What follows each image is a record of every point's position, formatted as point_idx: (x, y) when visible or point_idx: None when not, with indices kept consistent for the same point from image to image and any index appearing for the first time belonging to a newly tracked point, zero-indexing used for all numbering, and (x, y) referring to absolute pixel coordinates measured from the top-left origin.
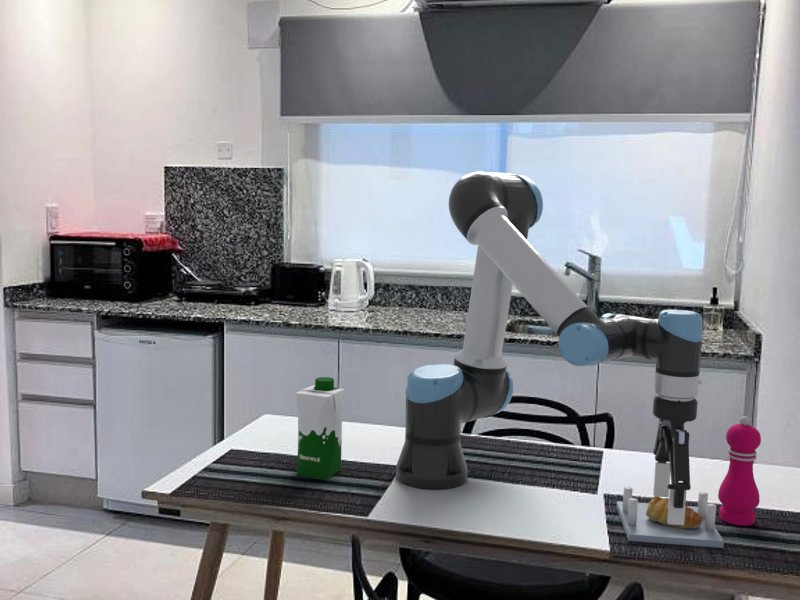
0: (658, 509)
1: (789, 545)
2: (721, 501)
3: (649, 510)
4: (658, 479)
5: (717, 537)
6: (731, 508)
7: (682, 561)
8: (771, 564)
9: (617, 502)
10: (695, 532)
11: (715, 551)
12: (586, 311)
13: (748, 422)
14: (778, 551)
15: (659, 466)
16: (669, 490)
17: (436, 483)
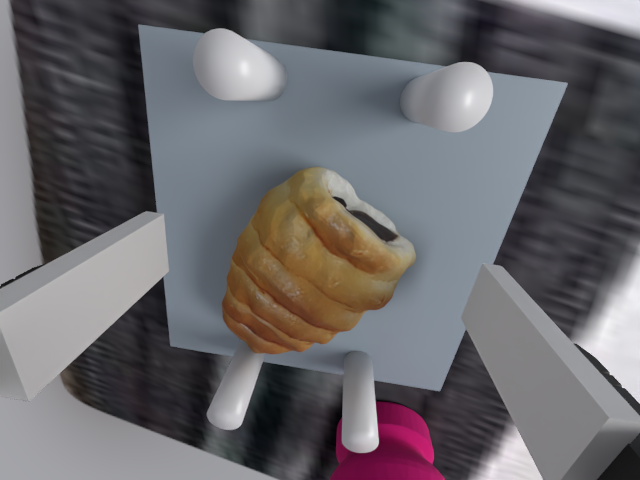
0: (269, 218)
1: (231, 456)
2: (382, 454)
3: (299, 181)
4: (520, 334)
5: (194, 340)
6: (353, 453)
7: (44, 188)
8: (114, 387)
9: (548, 82)
10: (218, 297)
11: (152, 305)
12: None
13: None
14: (192, 427)
15: (575, 414)
16: (21, 296)
17: None
